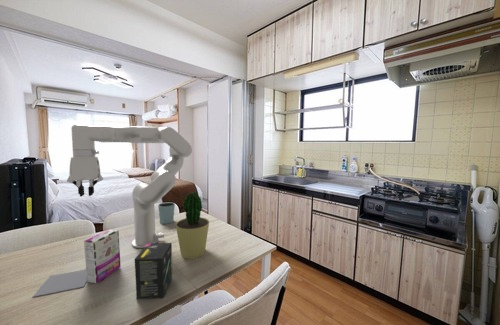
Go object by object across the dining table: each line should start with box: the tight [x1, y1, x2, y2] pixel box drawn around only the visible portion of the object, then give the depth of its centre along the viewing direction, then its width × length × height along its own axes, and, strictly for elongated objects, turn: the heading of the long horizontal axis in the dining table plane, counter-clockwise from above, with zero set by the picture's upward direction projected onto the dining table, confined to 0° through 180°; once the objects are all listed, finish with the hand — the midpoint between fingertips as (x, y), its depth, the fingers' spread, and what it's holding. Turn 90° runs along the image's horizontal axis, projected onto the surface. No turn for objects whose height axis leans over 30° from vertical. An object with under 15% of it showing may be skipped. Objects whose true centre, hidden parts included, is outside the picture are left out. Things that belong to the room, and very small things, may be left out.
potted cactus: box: [175, 191, 210, 259], centre depth 100 cm, size 15×15×30 cm
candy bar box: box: [83, 228, 121, 284], centre depth 82 cm, size 11×5×16 cm, turn 168°
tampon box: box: [134, 242, 173, 300], centre depth 75 cm, size 11×9×15 cm
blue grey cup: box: [157, 201, 176, 225], centre depth 139 cm, size 10×10×12 cm
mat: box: [32, 269, 88, 298], centre depth 78 cm, size 14×12×1 cm
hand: (86, 195), depth 92 cm, fingers open, 2 cm apart
